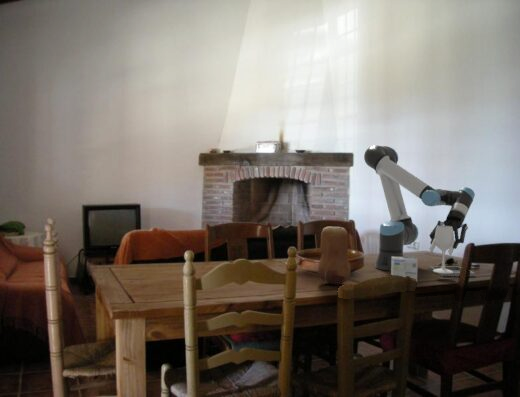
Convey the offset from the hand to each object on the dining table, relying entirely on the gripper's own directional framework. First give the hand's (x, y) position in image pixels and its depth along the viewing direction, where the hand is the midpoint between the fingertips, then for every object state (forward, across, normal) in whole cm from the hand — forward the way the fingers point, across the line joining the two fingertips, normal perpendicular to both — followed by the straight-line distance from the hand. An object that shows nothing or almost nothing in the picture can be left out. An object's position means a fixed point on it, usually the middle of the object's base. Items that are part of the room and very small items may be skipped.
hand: (440, 251), depth 222 cm
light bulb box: (+20, +9, +1) cm, 22 cm away
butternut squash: (+41, +26, +21) cm, 53 cm away
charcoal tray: (-5, +3, -23) cm, 24 cm away
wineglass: (+4, 0, -9) cm, 10 cm away
